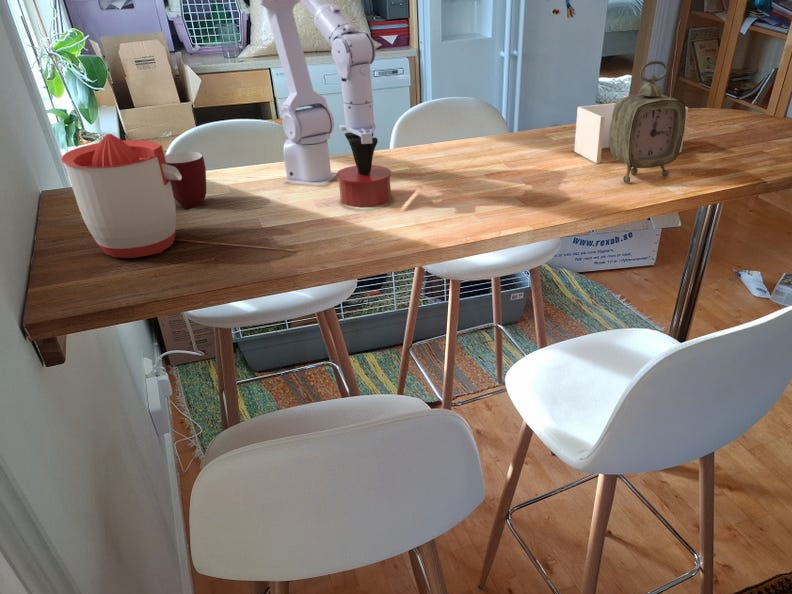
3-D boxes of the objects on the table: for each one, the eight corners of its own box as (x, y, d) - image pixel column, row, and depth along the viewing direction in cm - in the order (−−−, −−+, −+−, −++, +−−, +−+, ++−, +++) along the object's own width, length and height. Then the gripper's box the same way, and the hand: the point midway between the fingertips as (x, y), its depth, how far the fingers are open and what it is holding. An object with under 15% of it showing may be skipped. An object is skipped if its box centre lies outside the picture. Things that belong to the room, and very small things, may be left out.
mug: (159, 216, 137) (146, 166, 131) (157, 203, 143) (145, 155, 137) (215, 209, 140) (204, 160, 135) (211, 197, 146) (200, 149, 141)
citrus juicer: (194, 258, 120) (166, 141, 109) (84, 269, 116) (44, 150, 105) (198, 225, 133) (173, 118, 122) (99, 235, 129) (65, 125, 118)
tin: (333, 207, 141) (330, 182, 138) (351, 191, 150) (349, 166, 147) (382, 211, 140) (380, 185, 137) (397, 194, 148) (396, 169, 145)
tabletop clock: (623, 186, 154) (638, 66, 140) (601, 174, 160) (613, 59, 147) (676, 178, 159) (695, 61, 145) (652, 167, 166) (668, 55, 152)
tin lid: (328, 185, 138) (325, 159, 136) (348, 168, 148) (346, 144, 145) (381, 188, 137) (379, 163, 134) (398, 171, 146) (397, 147, 143)
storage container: (656, 141, 185) (662, 98, 179) (681, 152, 176) (688, 107, 170) (574, 151, 177) (577, 106, 171) (596, 163, 168) (600, 116, 162)
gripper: (331, 94, 139) (338, 162, 146) (343, 111, 127) (350, 183, 134) (366, 92, 141) (371, 159, 148) (380, 108, 129) (385, 179, 136)
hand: (363, 170), depth 141 cm, fingers closed on tin lid, 2 cm apart
